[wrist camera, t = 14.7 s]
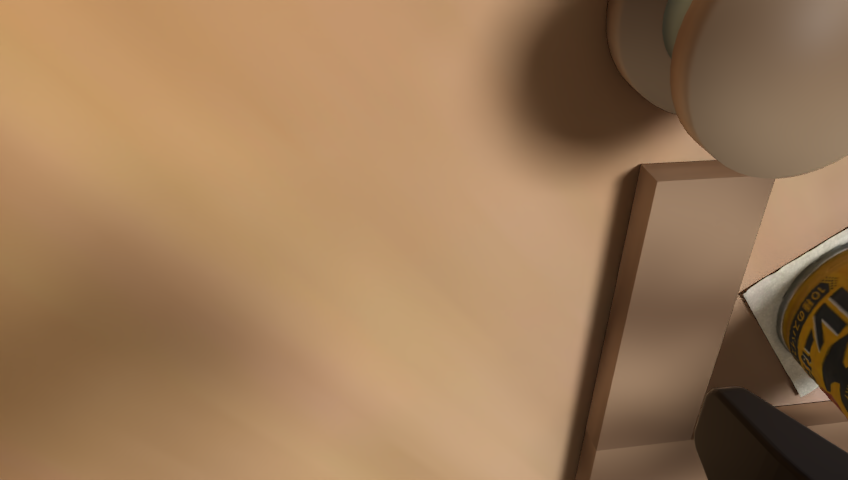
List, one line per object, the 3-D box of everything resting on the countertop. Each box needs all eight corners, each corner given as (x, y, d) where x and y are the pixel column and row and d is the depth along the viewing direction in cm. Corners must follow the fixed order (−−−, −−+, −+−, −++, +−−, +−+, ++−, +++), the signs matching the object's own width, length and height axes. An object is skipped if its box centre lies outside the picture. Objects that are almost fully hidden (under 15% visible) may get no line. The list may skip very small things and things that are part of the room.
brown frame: (967, 442, 34) (987, 462, 33) (572, 492, 31) (581, 515, 30) (1158, 136, 26) (1193, 151, 25) (641, 164, 23) (657, 181, 22)
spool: (773, 100, 22) (884, 172, 18) (591, 107, 21) (665, 185, 17) (837, -112, 19) (991, -84, 15) (626, -114, 18) (728, -85, 14)
